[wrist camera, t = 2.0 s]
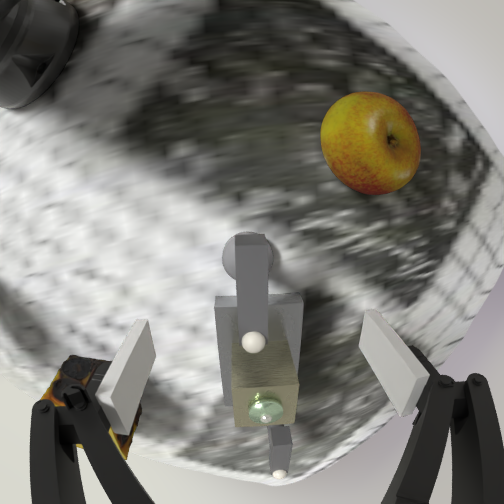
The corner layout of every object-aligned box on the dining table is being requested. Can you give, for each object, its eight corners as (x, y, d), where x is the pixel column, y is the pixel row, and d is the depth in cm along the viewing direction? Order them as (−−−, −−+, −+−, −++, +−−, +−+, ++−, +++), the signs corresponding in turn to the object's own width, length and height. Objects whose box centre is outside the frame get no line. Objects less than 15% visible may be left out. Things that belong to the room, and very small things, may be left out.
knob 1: (220, 217, 28) (212, 251, 18) (272, 216, 28) (292, 248, 18) (225, 296, 31) (221, 359, 21) (271, 294, 31) (287, 355, 21)
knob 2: (255, 390, 35) (260, 453, 25) (292, 387, 35) (306, 449, 26) (255, 426, 38) (260, 482, 28) (288, 423, 38) (298, 478, 28)
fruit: (405, 166, 27) (451, 172, 20) (340, 206, 28) (375, 223, 21) (364, 86, 24) (404, 69, 17) (293, 123, 25) (315, 110, 18)
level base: (215, 296, 31) (207, 360, 20) (299, 292, 31) (325, 352, 21) (225, 393, 35) (224, 457, 25) (291, 389, 36) (306, 452, 26)
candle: (131, 362, 33) (108, 418, 24) (144, 411, 36) (130, 462, 27) (68, 351, 33) (37, 397, 23) (86, 399, 36) (65, 444, 26)
